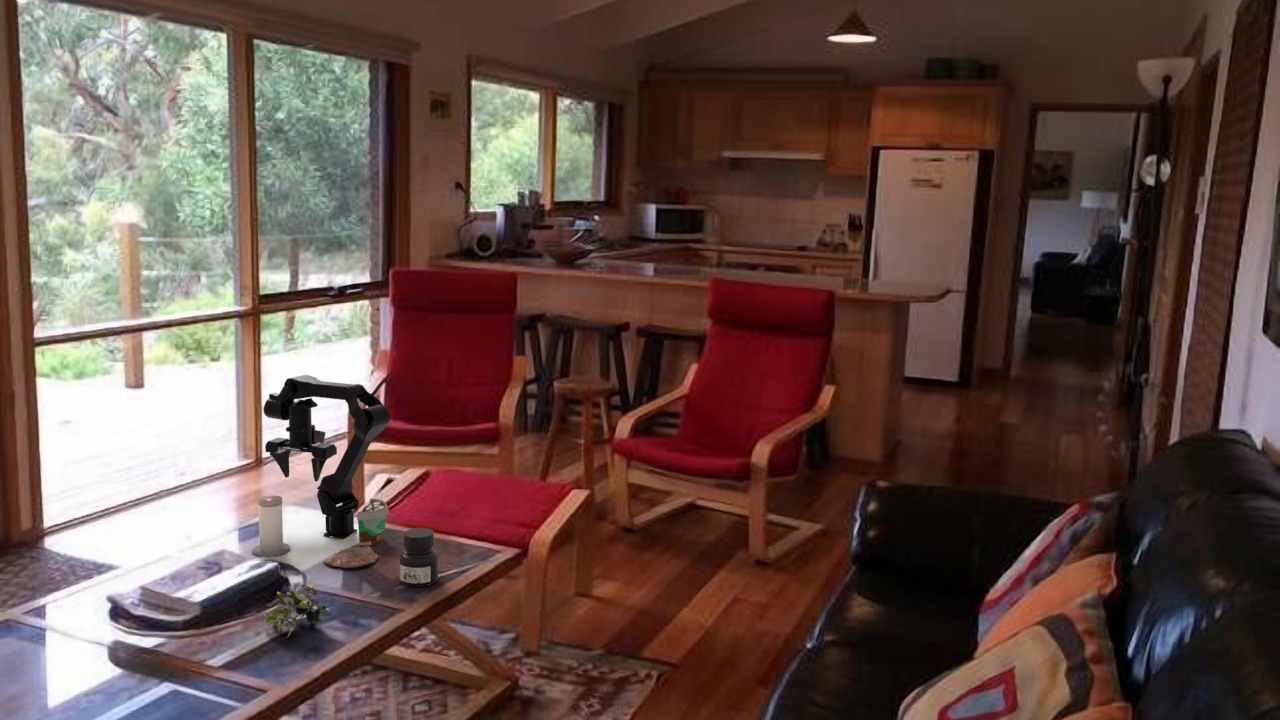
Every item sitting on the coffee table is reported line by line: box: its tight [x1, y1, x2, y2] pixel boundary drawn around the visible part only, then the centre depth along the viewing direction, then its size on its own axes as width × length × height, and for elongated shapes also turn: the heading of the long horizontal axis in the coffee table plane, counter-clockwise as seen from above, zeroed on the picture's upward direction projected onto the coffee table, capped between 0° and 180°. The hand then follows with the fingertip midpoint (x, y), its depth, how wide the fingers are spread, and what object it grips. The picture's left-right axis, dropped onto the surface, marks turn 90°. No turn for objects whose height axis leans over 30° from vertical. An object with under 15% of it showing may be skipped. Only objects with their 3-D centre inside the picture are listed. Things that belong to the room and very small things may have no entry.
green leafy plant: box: [261, 584, 333, 639], centre depth 216 cm, size 11×11×12 cm
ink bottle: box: [399, 527, 439, 588], centre depth 244 cm, size 10×9×12 cm
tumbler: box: [257, 495, 284, 552], centre depth 260 cm, size 6×6×13 cm
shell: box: [322, 546, 379, 571], centre depth 255 cm, size 12×13×4 cm
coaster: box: [251, 542, 291, 558], centre depth 261 cm, size 9×9×1 cm
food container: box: [356, 497, 390, 549], centre depth 268 cm, size 12×6×10 cm, turn 179°
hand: (301, 479), depth 278 cm, fingers open, 9 cm apart
